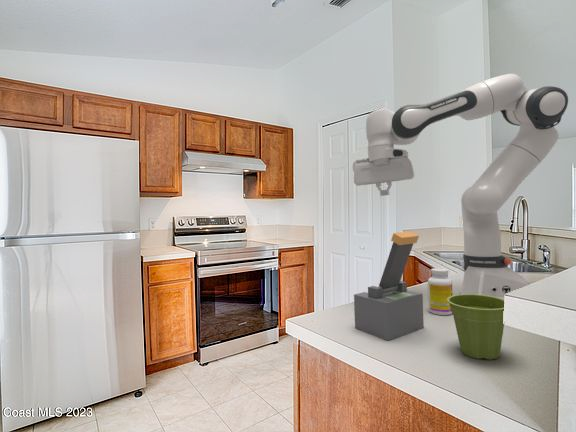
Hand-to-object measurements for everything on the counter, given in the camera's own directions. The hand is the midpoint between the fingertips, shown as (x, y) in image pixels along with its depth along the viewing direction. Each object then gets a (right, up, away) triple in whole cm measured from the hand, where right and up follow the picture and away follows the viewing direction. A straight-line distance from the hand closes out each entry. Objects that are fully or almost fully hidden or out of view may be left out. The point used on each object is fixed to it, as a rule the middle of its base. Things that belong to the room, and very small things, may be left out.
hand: (384, 195), depth 114 cm
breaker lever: (-7, -26, -28) cm, 39 cm away
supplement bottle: (+12, -36, -16) cm, 41 cm away
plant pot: (+7, -37, -44) cm, 58 cm away
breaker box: (-7, -37, -27) cm, 46 cm away
